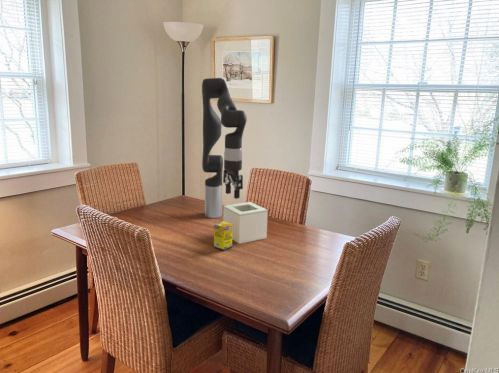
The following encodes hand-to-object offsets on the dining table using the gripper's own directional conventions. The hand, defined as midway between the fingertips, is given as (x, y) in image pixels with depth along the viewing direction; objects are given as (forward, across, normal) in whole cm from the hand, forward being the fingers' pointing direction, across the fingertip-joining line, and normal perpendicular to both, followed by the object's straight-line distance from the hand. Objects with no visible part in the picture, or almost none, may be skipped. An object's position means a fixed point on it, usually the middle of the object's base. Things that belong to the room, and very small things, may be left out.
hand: (232, 195), depth 176 cm
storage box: (+23, -10, +12) cm, 28 cm away
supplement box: (+24, -1, -4) cm, 24 cm away
